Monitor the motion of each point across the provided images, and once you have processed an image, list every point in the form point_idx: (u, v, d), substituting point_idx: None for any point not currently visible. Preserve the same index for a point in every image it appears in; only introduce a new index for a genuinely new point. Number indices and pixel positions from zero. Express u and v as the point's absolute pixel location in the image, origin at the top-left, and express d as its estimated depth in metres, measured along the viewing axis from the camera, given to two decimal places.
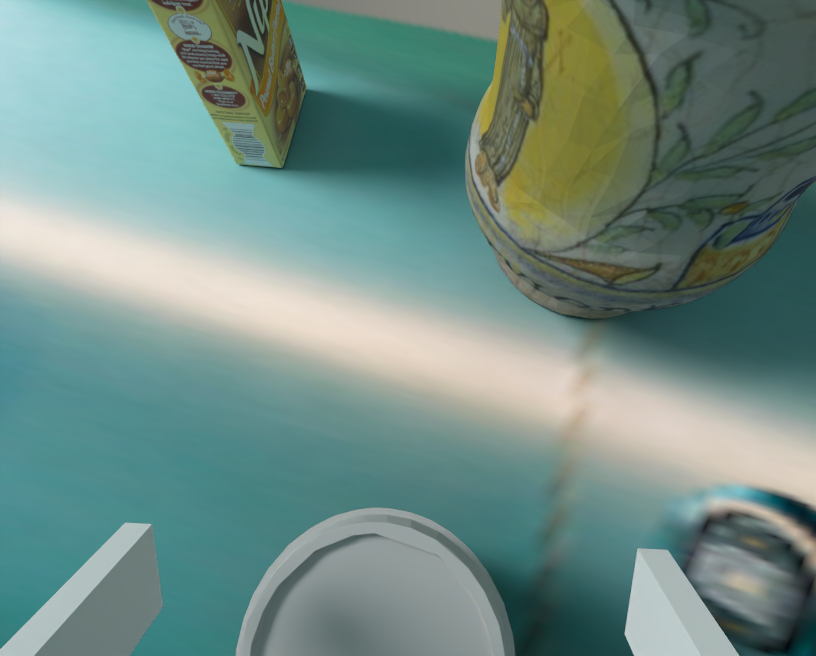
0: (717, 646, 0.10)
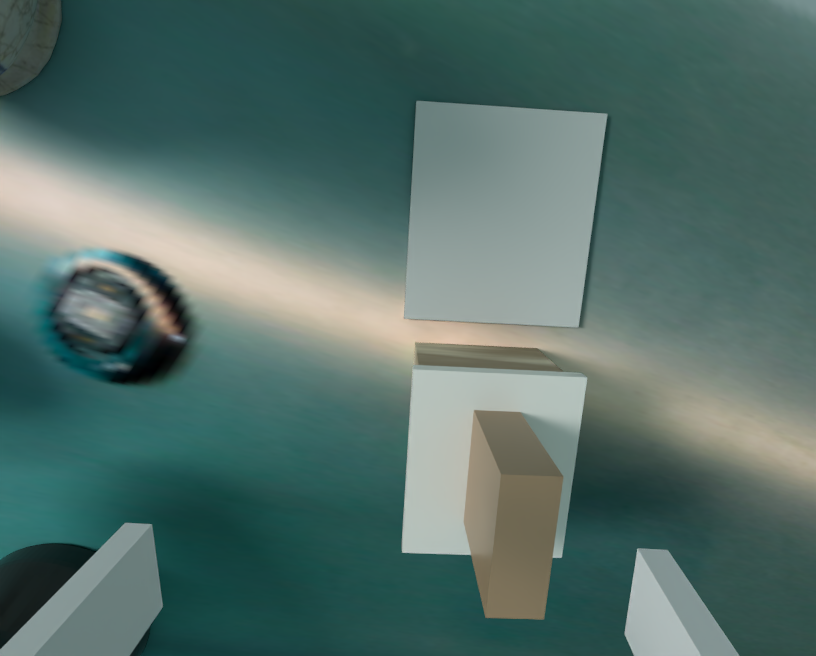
0: (717, 646, 0.10)
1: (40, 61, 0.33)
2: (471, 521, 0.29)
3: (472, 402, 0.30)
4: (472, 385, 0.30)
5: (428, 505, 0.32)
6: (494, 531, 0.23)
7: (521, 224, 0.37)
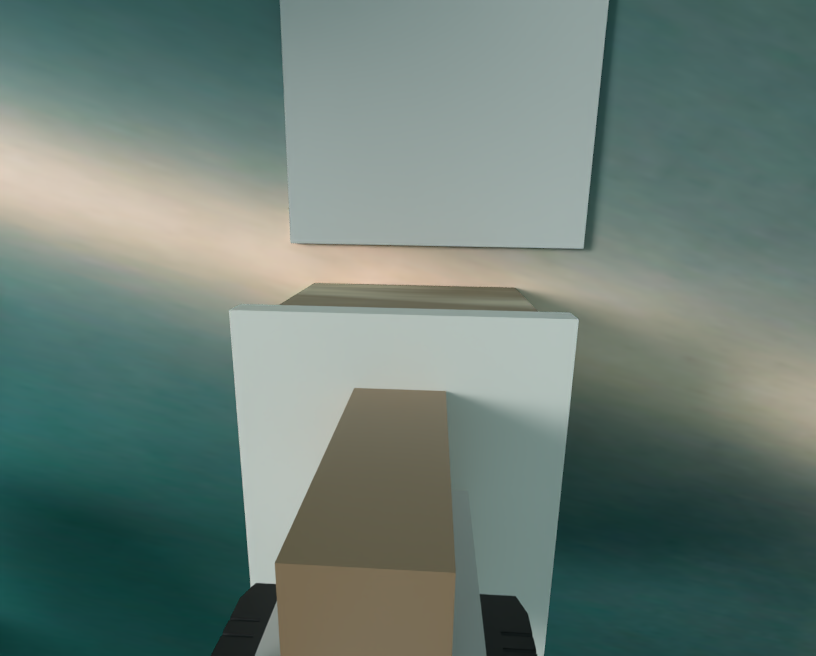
0: (462, 554, 0.12)
1: None
2: None
3: (350, 373, 0.16)
4: (346, 339, 0.15)
5: None
6: None
7: (474, 67, 0.21)
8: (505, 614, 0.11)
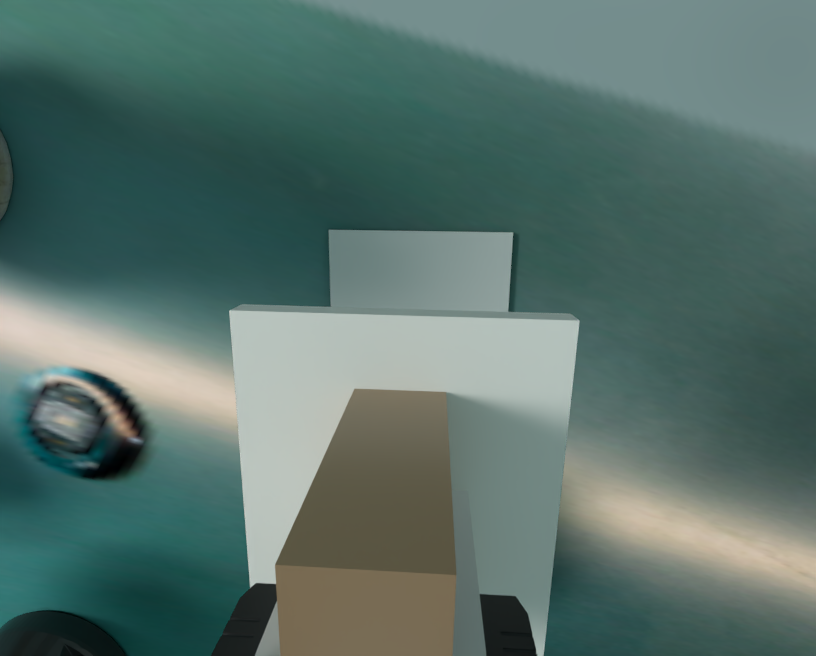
0: (462, 554, 0.12)
1: None
2: None
3: (350, 374, 0.16)
4: (346, 340, 0.15)
5: None
6: None
7: None
8: (505, 614, 0.11)
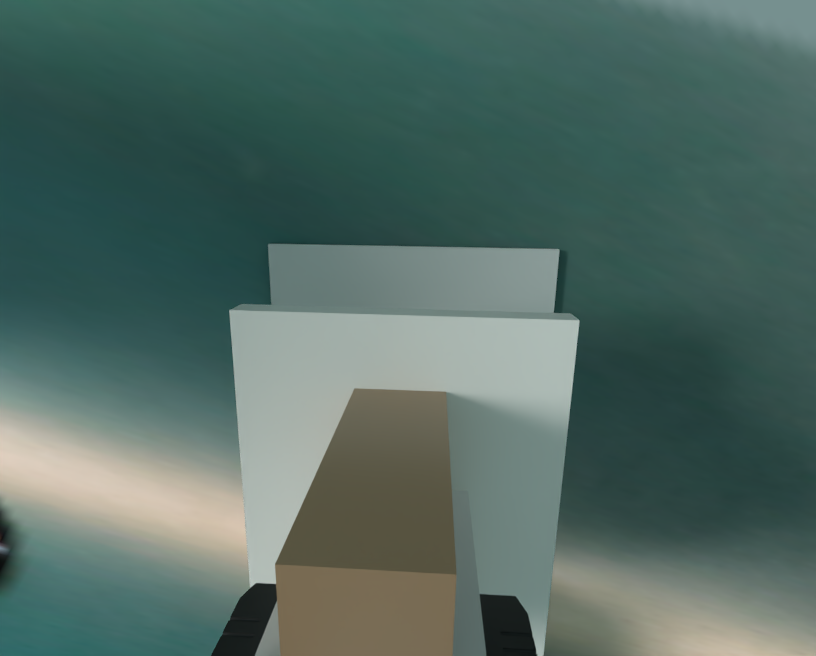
0: (462, 554, 0.12)
1: None
2: None
3: (350, 373, 0.16)
4: (346, 340, 0.15)
5: None
6: None
7: None
8: (505, 614, 0.11)
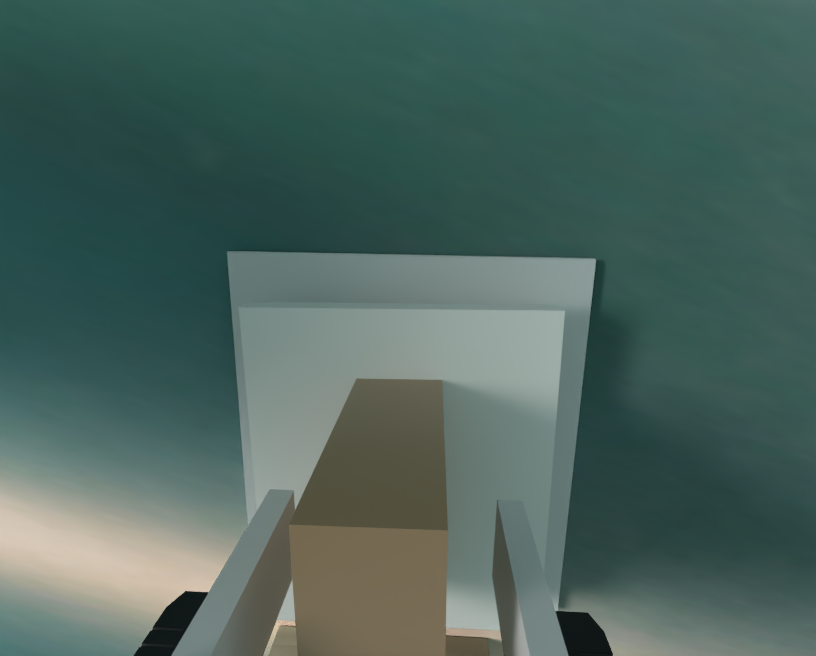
0: (530, 569, 0.12)
1: None
2: None
3: (352, 364, 0.17)
4: (348, 333, 0.16)
5: None
6: (300, 652, 0.10)
7: None
8: (581, 633, 0.11)
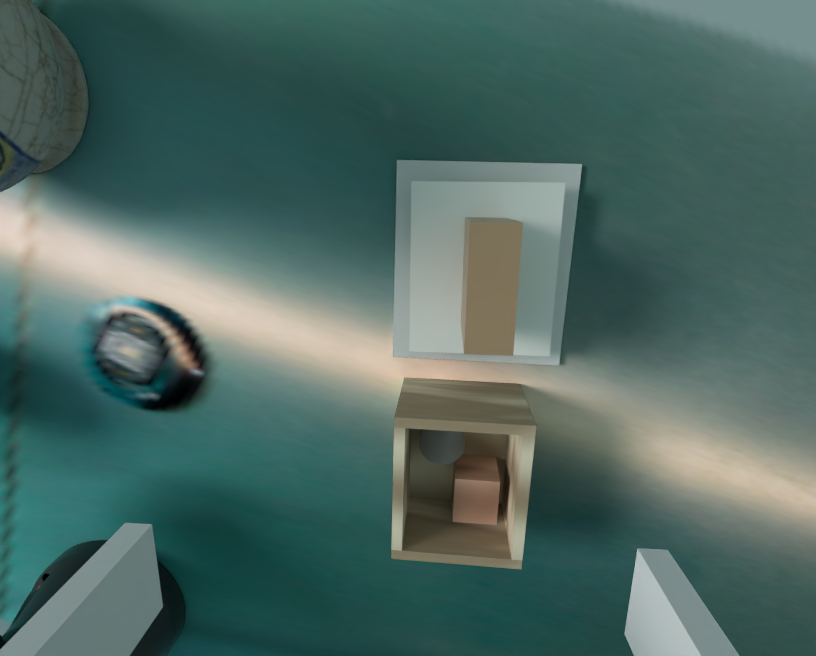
0: (717, 646, 0.10)
1: (73, 142, 0.38)
2: (462, 307, 0.34)
3: (463, 210, 0.35)
4: (462, 194, 0.35)
5: (429, 307, 0.37)
6: None
7: None
8: None
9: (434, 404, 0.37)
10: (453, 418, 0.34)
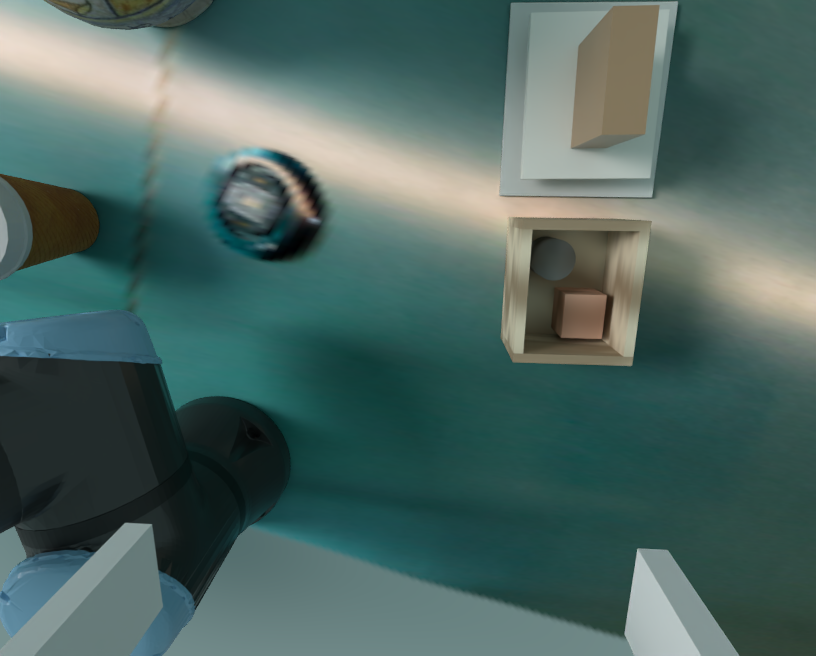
0: (717, 646, 0.10)
1: None
2: (580, 121, 0.39)
3: (577, 38, 0.39)
4: (577, 23, 0.39)
5: (542, 134, 0.41)
6: (608, 59, 0.33)
7: None
8: None
9: None
10: (575, 219, 0.38)
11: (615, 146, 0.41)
